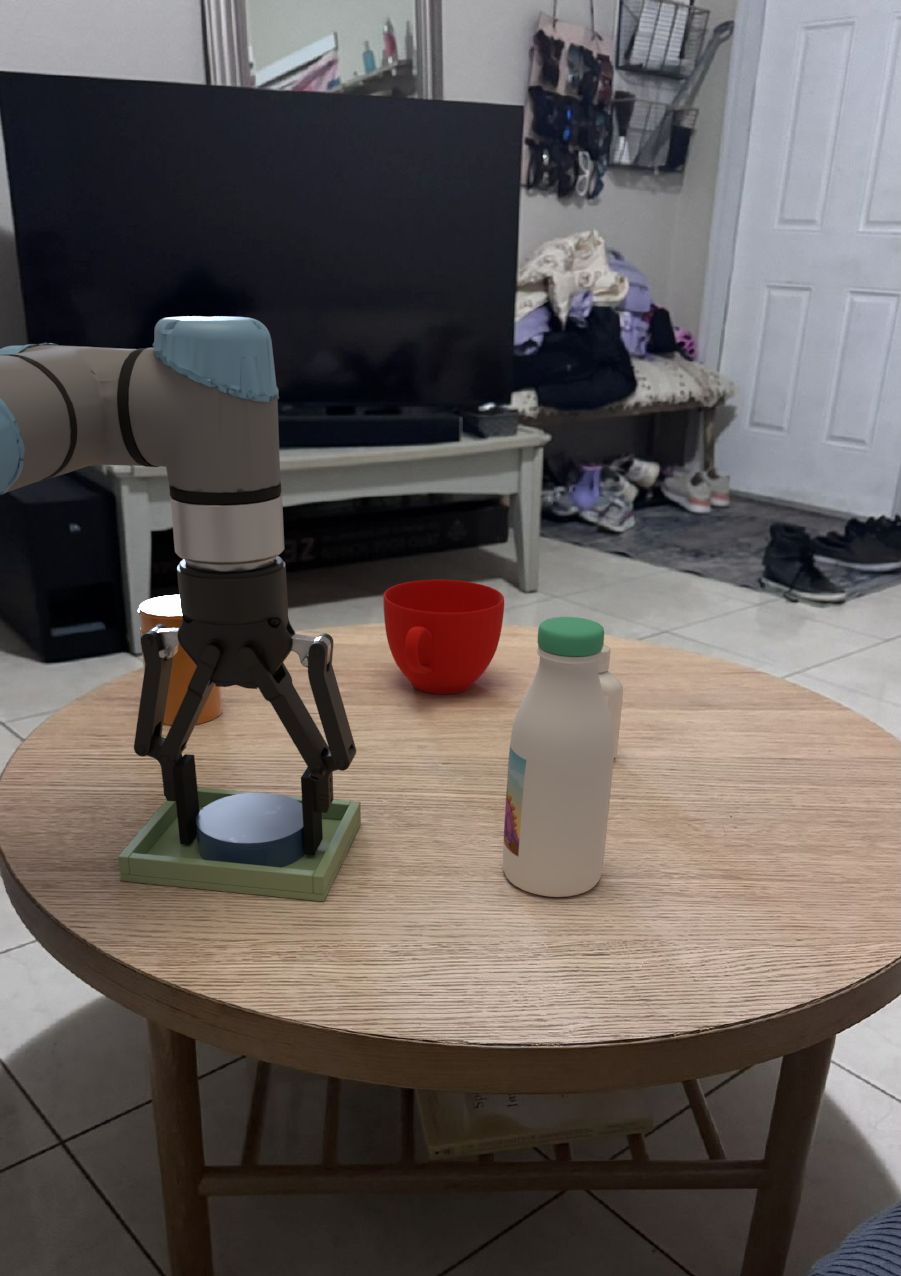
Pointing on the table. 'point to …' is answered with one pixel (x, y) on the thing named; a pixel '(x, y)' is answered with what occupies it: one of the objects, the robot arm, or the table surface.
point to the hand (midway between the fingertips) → (252, 841)
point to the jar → (176, 658)
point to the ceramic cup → (443, 632)
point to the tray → (181, 865)
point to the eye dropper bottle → (611, 693)
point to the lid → (252, 830)
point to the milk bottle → (560, 766)
